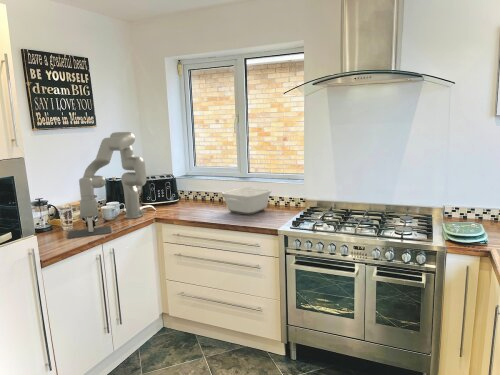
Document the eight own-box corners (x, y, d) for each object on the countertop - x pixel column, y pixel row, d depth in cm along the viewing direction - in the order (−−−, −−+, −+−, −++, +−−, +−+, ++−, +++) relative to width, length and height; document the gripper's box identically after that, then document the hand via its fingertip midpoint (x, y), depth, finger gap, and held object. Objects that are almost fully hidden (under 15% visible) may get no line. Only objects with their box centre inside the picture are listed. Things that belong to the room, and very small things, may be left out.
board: (93, 231, 224) (91, 218, 222) (88, 232, 223) (87, 218, 221) (93, 227, 233) (92, 214, 232) (89, 228, 232) (87, 215, 231)
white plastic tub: (248, 219, 245) (248, 197, 242) (216, 214, 262) (215, 193, 259) (277, 209, 272) (276, 189, 269) (246, 204, 289) (245, 186, 286)
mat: (110, 226, 240) (110, 225, 239) (111, 233, 225) (111, 232, 225) (69, 231, 231) (69, 231, 231) (67, 239, 216) (67, 238, 216)
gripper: (102, 195, 231) (105, 224, 234) (73, 198, 225) (76, 227, 228) (102, 197, 224) (105, 227, 227) (72, 200, 218) (76, 230, 221)
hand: (90, 227), depth 228 cm, fingers closed on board, 2 cm apart
